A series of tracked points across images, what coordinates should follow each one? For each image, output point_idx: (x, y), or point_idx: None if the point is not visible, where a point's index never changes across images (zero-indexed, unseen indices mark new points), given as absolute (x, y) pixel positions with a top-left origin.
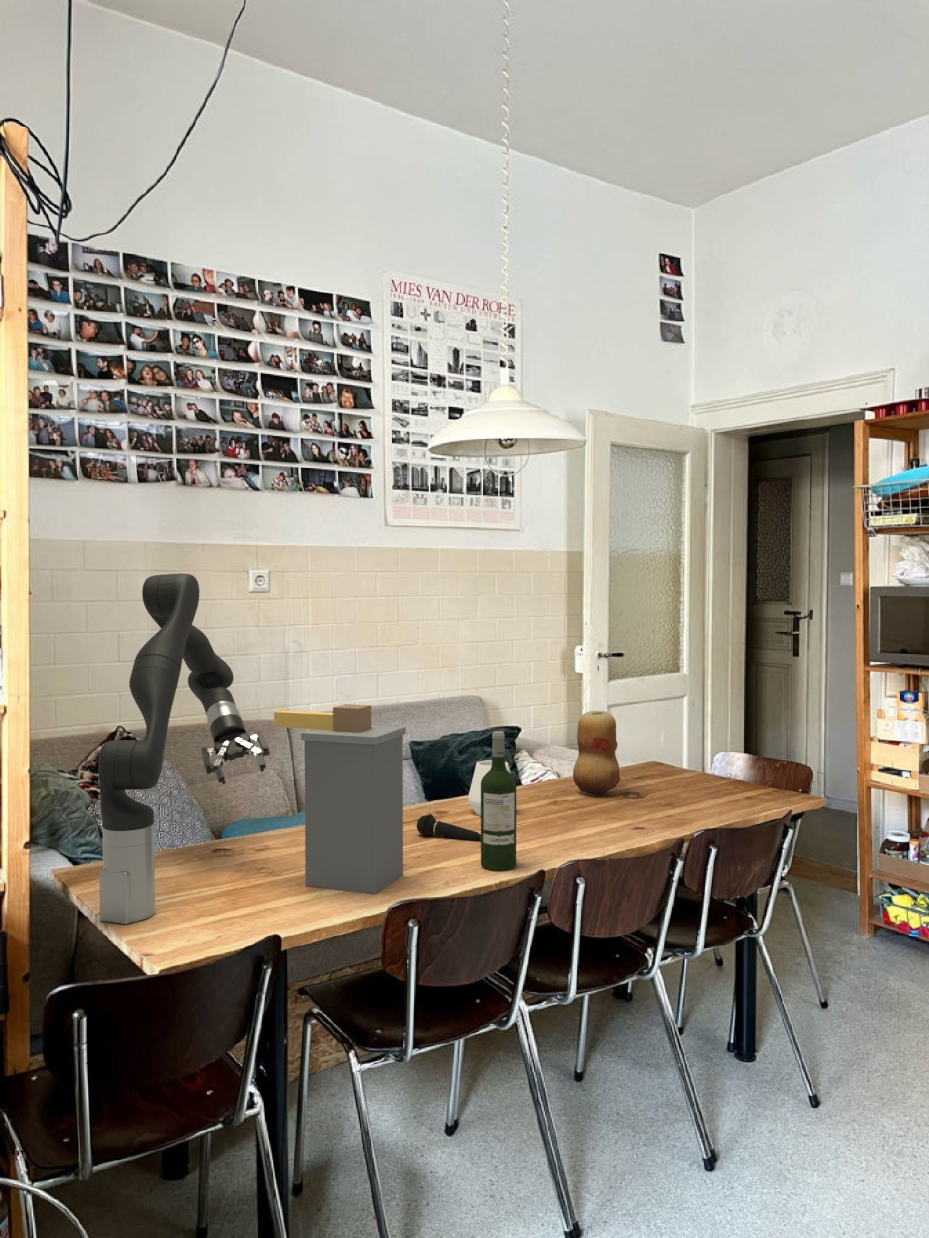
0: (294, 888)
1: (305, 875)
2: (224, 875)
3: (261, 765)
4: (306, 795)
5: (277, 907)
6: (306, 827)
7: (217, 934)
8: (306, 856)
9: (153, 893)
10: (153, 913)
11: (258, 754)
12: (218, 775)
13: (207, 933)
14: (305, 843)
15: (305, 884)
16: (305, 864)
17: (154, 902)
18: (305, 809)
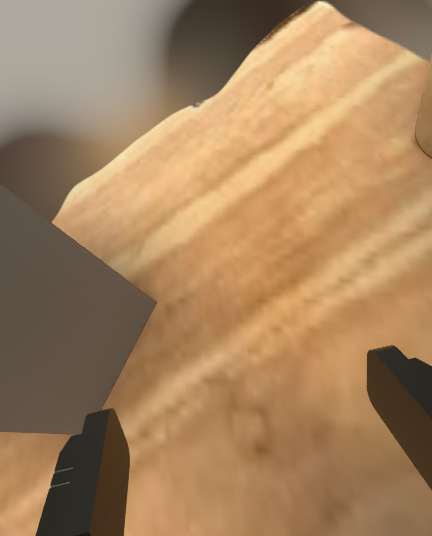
0: (176, 287)
1: (147, 295)
2: (350, 388)
3: (97, 412)
4: (15, 196)
5: (201, 193)
6: (83, 248)
7: (274, 91)
8: (124, 279)
9: (422, 103)
10: (415, 132)
11: (62, 532)
12: (429, 379)
13: (290, 91)
14: (109, 267)
15: (155, 301)
16: (135, 286)
17: (419, 124)
18: (51, 223)
